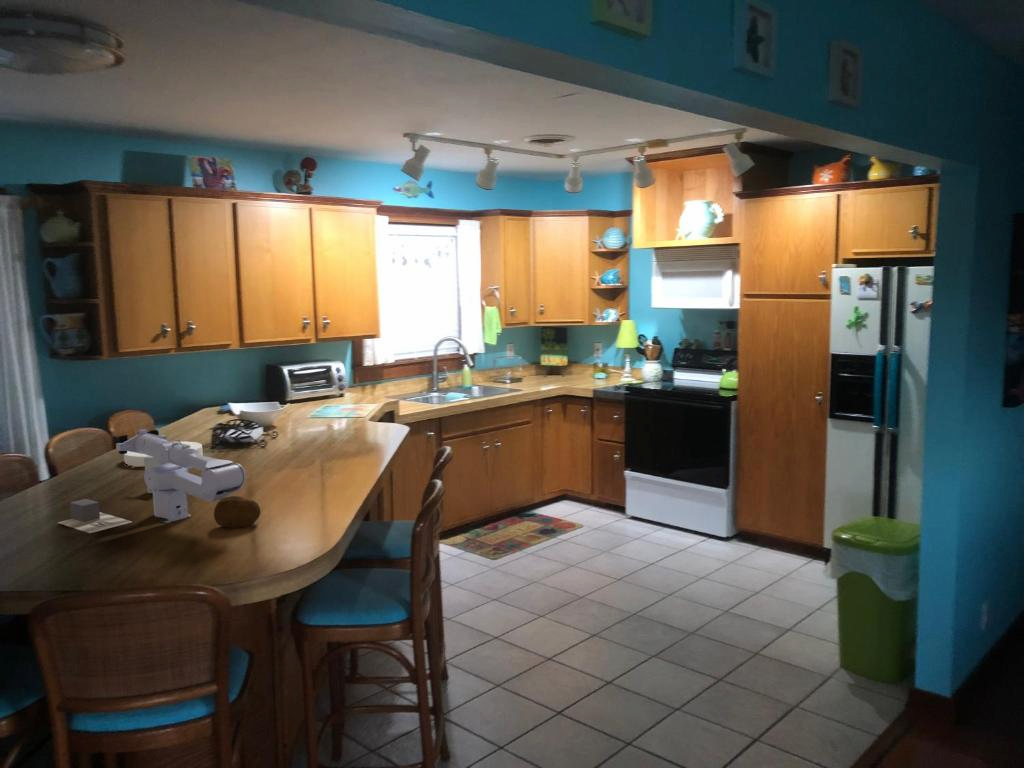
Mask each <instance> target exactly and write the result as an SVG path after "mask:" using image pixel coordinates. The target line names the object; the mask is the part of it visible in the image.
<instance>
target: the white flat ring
mask: <svg viewBox="0 0 1024 768" xmlns="http://www.w3.org/2000/svg"><path fill="white" fill-rule="evenodd" d="M180 442H181V443H182V444H183V445H189V448H192V449H195V450H196V451H197V452H198V455H202V456H204V455H203V445H202V444H201V442H195V441H180ZM146 456H148V455H146V454H142V453H135V452H130V451H127V454H123V462H125V463H126V464H128V465H133V466H145V465H144V458H145V457H146ZM167 464H171V463H167Z"/></svg>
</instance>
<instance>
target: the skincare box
mask: <svg viewBox="0 0 1024 768" xmlns="http://www.w3.org/2000/svg"><path fill="white" fill-rule="evenodd" d="M144 465H145V468H144V472H145V471H146V469H147V468H151V467H152V468H153V467H157V466H162V464H160V463H159V462H158V461H157V459H156V458H154V457H151V456H149V455H148V456H146V457H145V458H144ZM164 465H167V463H166V464H164ZM146 490H147V494H153V491H152V490H151V489H150V488H149V487H148V486H147V485H146Z"/></svg>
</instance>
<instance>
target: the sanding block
mask: <svg viewBox="0 0 1024 768" xmlns="http://www.w3.org/2000/svg"><path fill="white" fill-rule="evenodd" d="M69 505H70V517H71V518H70V519H72V520H75V521H78V522H81V523H87V522H91V521H95V520H99V519H100V513H99V512H100V503H99V502H98V501H96V500H92V499H90V498H89V499H88V498H83V499H79V500H75V501H71V502H69Z"/></svg>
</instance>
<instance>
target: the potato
mask: <svg viewBox="0 0 1024 768" xmlns="http://www.w3.org/2000/svg"><path fill="white" fill-rule="evenodd" d="M260 516H261V508H260V506H259V503H257V501H255V500H252V499H248V498H244V497H242V496H238V495H231V496H226V497H224V498H222V499H221V500H218V502H217V503H216V505H215V507H214V510H213V519H214V521H215V522H216V524H217V525H218V526H220V527H225V528H226V527H227V528H230V529H232V528H233V529H235V528H236V529H239V528H246V527H249V526H251V525H252V524H255V522H257V520H258V519H259V518H260Z"/></svg>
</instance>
